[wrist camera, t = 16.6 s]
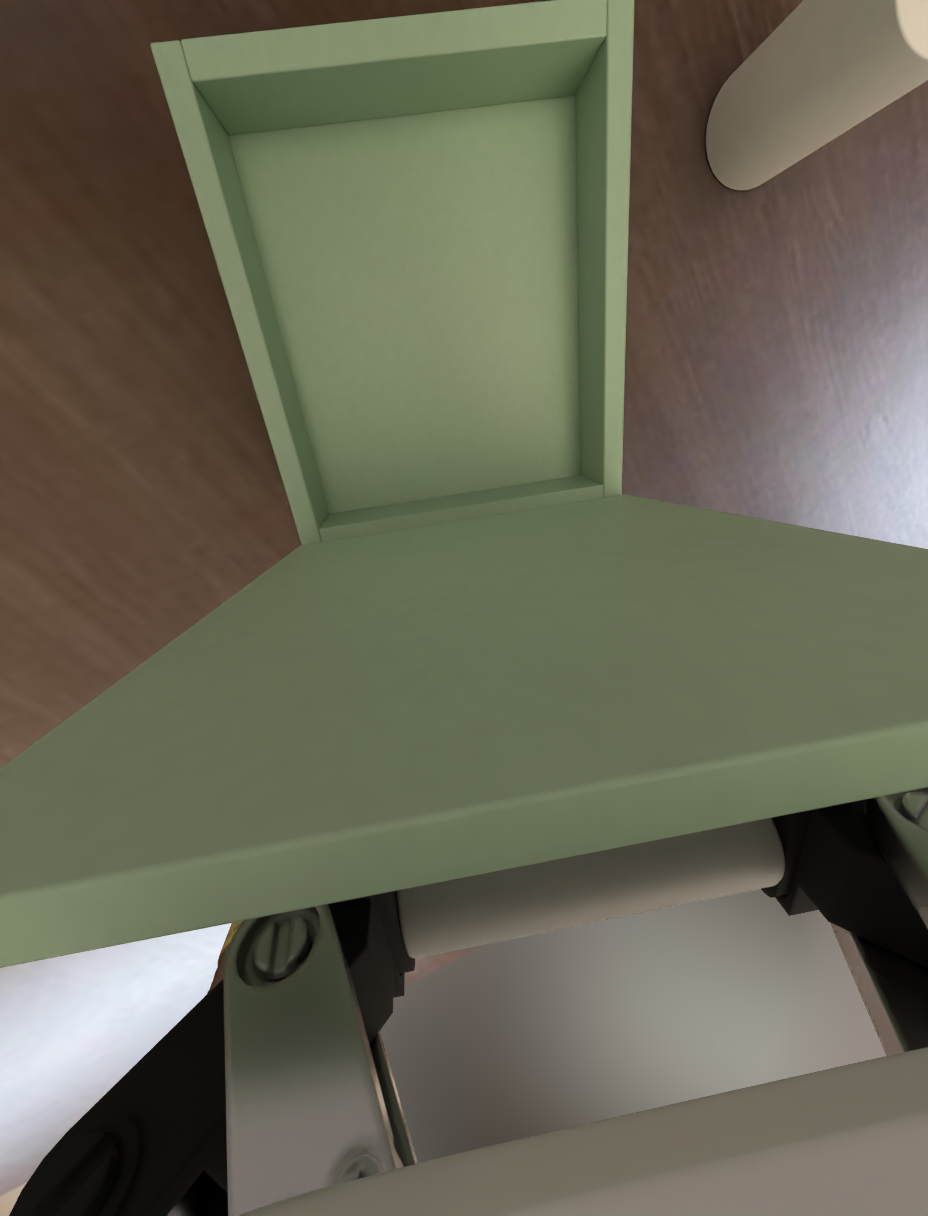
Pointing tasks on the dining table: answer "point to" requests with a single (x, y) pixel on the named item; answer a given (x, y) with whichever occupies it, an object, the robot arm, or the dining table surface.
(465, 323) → the green open lid box
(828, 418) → the dining table surface
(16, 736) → the dining table surface
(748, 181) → the cylinder
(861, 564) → the green box lid
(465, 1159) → the robot arm
